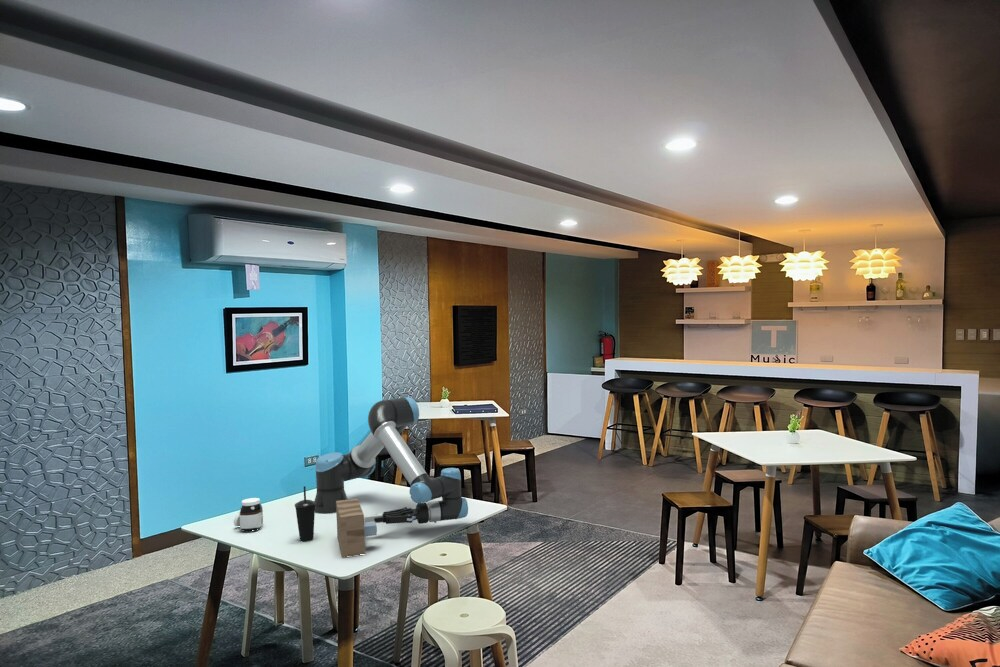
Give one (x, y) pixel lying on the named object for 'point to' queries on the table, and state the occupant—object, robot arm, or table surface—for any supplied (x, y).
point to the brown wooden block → (350, 527)
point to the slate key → (370, 528)
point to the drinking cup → (305, 518)
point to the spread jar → (250, 515)
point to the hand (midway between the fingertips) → (365, 520)
